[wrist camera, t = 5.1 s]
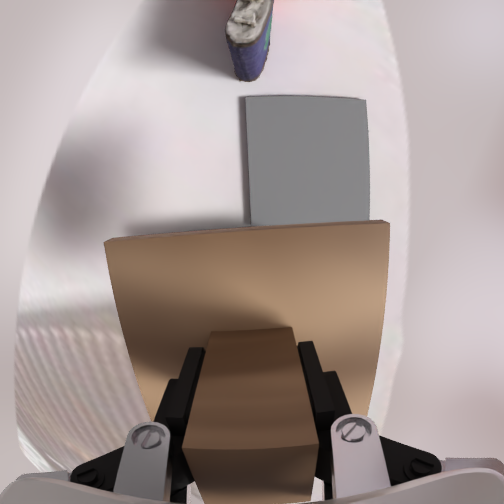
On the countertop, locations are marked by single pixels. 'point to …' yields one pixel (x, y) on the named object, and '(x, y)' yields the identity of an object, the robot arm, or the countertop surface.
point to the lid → (253, 340)
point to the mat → (307, 159)
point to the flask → (249, 37)
